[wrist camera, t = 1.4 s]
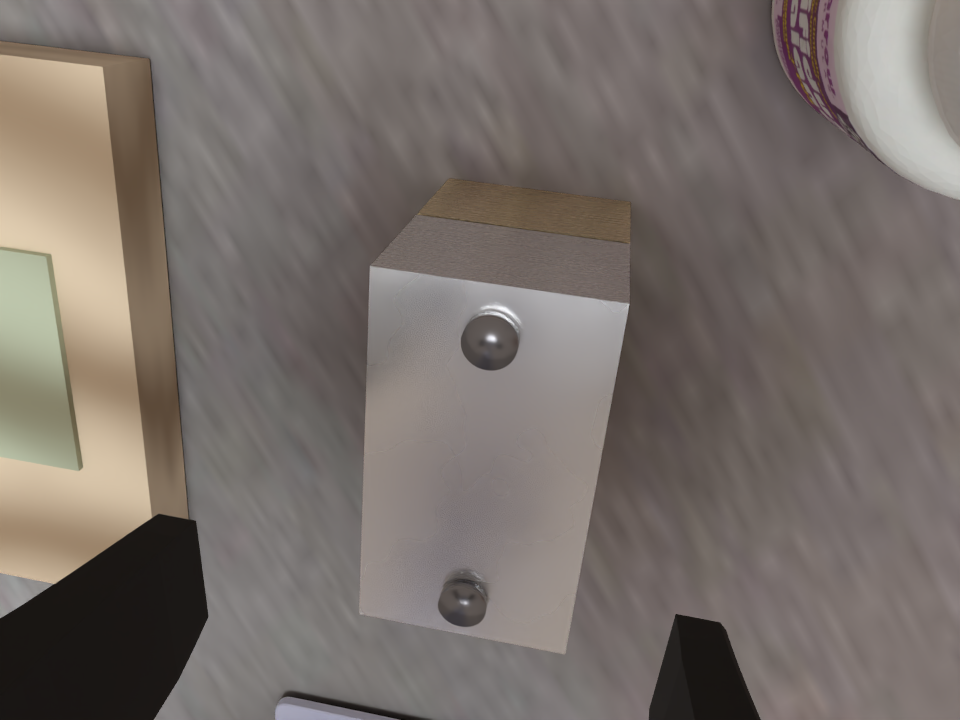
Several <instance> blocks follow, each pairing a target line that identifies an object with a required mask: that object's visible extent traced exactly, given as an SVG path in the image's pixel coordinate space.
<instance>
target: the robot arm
mask: <svg viewBox="0 0 960 720" xmlns="http://www.w3.org/2000/svg"><path fill="white" fill-rule="evenodd" d="M207 618H208V610H207V602H206V594H205V587H204V579H203V571H202V564H201V556H200V548H199V541H198V533H197V525H196V521H194V520H189V519H184V518H179V517H174V516H168V515H163V514H157V515H156V516H154V517H153V518H151V519H150V520H148V521H147V522H145V523H144V524H142V525H141V526H139V527H138V528H136V529H135V530H133V531H132V532H130V533H129V534H127V535H126V536H124V537H123V538H122V539H120V540H119V541H117V542H116V543H114V544H113V545H111V546H110V547H108V548H107V549H105V550H104V551H103V552H101V553H100V554H98V555H97V556H95V557H94V558H92V559H91V560H89V561H88V562H86V563H85V564H83V565H82V566H81V567H79V568H78V569H76V570H75V571H73V572H72V573H70V574H69V575H67V576H66V577H64V578H63V579H61V580H60V581H58V582H57V583H55V584H54V585H52V586H51V587H49V588H48V589H46V590H45V591H43V592H42V593H40V594H38V595H37V596H35V597H34V598H32V599H31V600H29V601H28V602H26V603H25V604H23V605H22V606H20V607H18V608H17V609H15V610H14V611H12V612H10V613H9V614H7V615H5V616H4V617H2V618H0V720H154V718H155V717H156V715H157V713H158V712H159V710H160V709H161V707H162V705H163V704H164V702H165V701H166V699H167V697H168V696H169V694H170V693H171V691H172V689H173V688H174V686H175V684H176V683H177V681H178V679H179V678H180V675H181V673H182V671H183V669H184V667H185V665H186V663H187V661H188V659H189V657H190V655H191V653H192V651H193V649H194V647H195V645H196V642H197V640H198V638H199V636H200V634H201V631H202V629H203V627H204V625H205V623H206V621H207ZM275 720H399V719H394V718H390V717H385V716H380V715H375V714H371V713H366V712H361V711H356V710H351V709H347V708H342V707H337V706H332V705H328V704H323V703H318V702H313V701H309V700H304V699H299V698H294V697H284V698H282V699H280V700H279V702H278V704H277V706H276V709H275ZM649 720H761V719H760V717H759V715H758V712H757V710H756V708H755V705H754V703H753V700H752V698H751V696H750V693H749V691H748V689H747V686H746V683H745V681H744V678H743V676H742V673H741V671H740V668H739V666H738V663H737V660H736V658H735V655H734V652H733V649H732V646H731V644H730V641H729V638H728V635H727V632H726V630H725V628H724V627H723V626H722V624H721V623H719V622H714V621H709V620H704V619H699V618H694V617H689V616H683V615H678V614H676V615H675V619H674V623H673V626H672V630H671V633H670V637H669V641H668V644H667V648H666V651H665V655H664V659H663V662H662V666H661V669H660V673H659V677H658V680H657V684H656V687H655V691H654V695H653V698H652V702H651V705H650V709H649Z"/></svg>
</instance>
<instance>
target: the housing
mask: <svg viewBox="0 0 960 720" xmlns="http://www.w3.org/2000/svg"><path fill="white" fill-rule="evenodd" d="M630 218H631V202H626V201H619V200H611V199H603V198H596V197H588V196H580V195H573V194H565V193H558V192H550V191H542V190H535V189H527V188H519V187H512V186H504V185H497V184H489V183H481V182H474V181H466V180H458V179H451V178H449V179H448V180H447V181H446V183H445V184H444V185H443V186H442V187H441V188H440V189H439V190H438V191H437V192H436V194H435V195H434V196H433V197H432V198H431V199H430V200H429V201H428V202H427V204H426V205H425V206H424V207H423V208H422V209H421V210H420V211H419V212H418V214H417V215H416V216H415V217H414V218H413V219H412V220H411V221H410V222H409V223H408V225H407V226H406V227H405V228H404V229H403V230H402V231H401V232H400V233H399V235H398V236H397V237H396V238H395V239H394V240H393V241H392V242H391V243H390V245H389V246H388V247H387V248H386V249H385V250H384V251H383V252H382V253H381V254H380V256H379V257H378V258H377V259H376V260H375V261H374V262H373V263H372V264H371V266H370V280H369V312H368V344H367V377H366V409H365V441H364V473H363V506H362V538H361V570H360V602H359V614H361V615H366V616H371V617H376V618H381V619H386V620H392V621H397V622H402V623H407V624H412V625H417V626H422V627H428V628H433V629H438V630H443V631H448V632H453V633H458V634H463V635H469V636H474V637H479V638H484V639H489V640H494V641H499V642H504V643H510V644H515V645H520V646H525V647H530V648H535V649H540V650H545V651H551V652H556V653H561V654H565V652H566V647H567V641H568V636H569V630H570V625H571V619H572V614H573V609H574V603H575V598H576V592H577V587H578V581H579V576H580V570H581V565H582V560H583V554H584V549H585V543H586V538H587V532H588V527H589V522H590V516H591V511H592V505H593V500H594V494H595V489H596V483H597V478H598V473H599V467H600V462H601V456H602V451H603V445H604V440H605V434H606V429H607V424H608V418H609V413H610V407H611V402H612V396H613V391H614V385H615V380H616V375H617V369H618V364H619V358H620V353H621V347H622V342H623V336H624V331H625V326H626V320H627V315H628V309H629V304H630Z"/></svg>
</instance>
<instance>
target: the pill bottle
mask: <svg viewBox="0 0 960 720" xmlns="http://www.w3.org/2000/svg"><path fill="white" fill-rule="evenodd" d="M771 18H772V28H773V35H774V42H775V47H776V51H777V55H778V58H779V60H780V63H781V65H782V68H783V70H784V72H785V74H786V75H787V77H788V79H789V80H790V82H791V84H792V85H793V86H794V88H795V89H796V91H797V92H798V93H799V94H800V95H801V96H802V98H803V99H804V100H805V101H806V102H807V103H808V104H809V105H810V106H811V107H813V108H814V109H815V110H816V111H817V112H818V113H820V114H821V115H822V116H823V117H825V118H826V119H827V120H828V121H830V122H831V123H832V124H834V125H835V126H836V127H837V128H839V129H840V130H841V131H843V132H844V133H845V134H847V135H848V136H849V137H851V138H852V139H853V140H855V141H856V142H857V143H859V144H860V145H861V146H862V147H864V148H865V149H866V150H867V151H869V152H870V153H872V154H873V155H874V156H875V157H876V158H877V159H878V160H879V161H880V162H882V163H883V164H884V165H886V166H887V167H889V168H890V169H891V170H892V171H894V172H895V173H896V174H898V175H900V176H902V177H903V178H905V179H907V180H909V181H911V182H912V183H914V184H916V185H919V186H921V187H923V188H925V189H928V190H931V191H933V192H936V193H939V194H942V195H944V196H947V197H950V198H954V199H957V200H960V0H773V1H772V16H771Z"/></svg>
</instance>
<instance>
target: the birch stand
mask: <svg viewBox="0 0 960 720" xmlns="http://www.w3.org/2000/svg"><path fill="white" fill-rule="evenodd" d="M157 514H163V515H168V516H174V517H179V518H184V519H189V518H188V506H187V495H186V483H185V471H184V459H183V447H182V436H181V424H180V412H179V400H178V388H177V377H176V365H175V353H174V341H173V329H172V318H171V306H170V294H169V282H168V271H167V259H166V247H165V235H164V223H163V212H162V200H161V188H160V176H159V164H158V153H157V141H156V129H155V117H154V105H153V94H152V82H151V70H150V59H147V58H139V57H130V56H122V55H113V54H105V53H97V52H88V51H80V50H71V49H63V48H55V47H46V46H38V45H30V44H21V43H13V42H4V41H0V573H3V574H8V575H13V576H18V577H23V578H28V579H33V580H38V581H43V582H48V583H53V584H55V583H57V582H58V581H60V580H61V579H63V578H64V577H66V576H67V575H69V574H70V573H72V572H73V571H75V570H76V569H78V568H79V567H81V566H82V565H83V564H85V563H86V562H88V561H89V560H91V559H92V558H94V557H95V556H97V555H98V554H100V553H101V552H103V551H104V550H105V549H107V548H108V547H110V546H111V545H113V544H114V543H116V542H117V541H119V540H120V539H122V538H123V537H124V536H126V535H127V534H129V533H130V532H132V531H133V530H135V529H136V528H138V527H139V526H141V525H142V524H144V523H145V522H147V521H148V520H150V519H151V518H153V517H154V516H156V515H157Z"/></svg>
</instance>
